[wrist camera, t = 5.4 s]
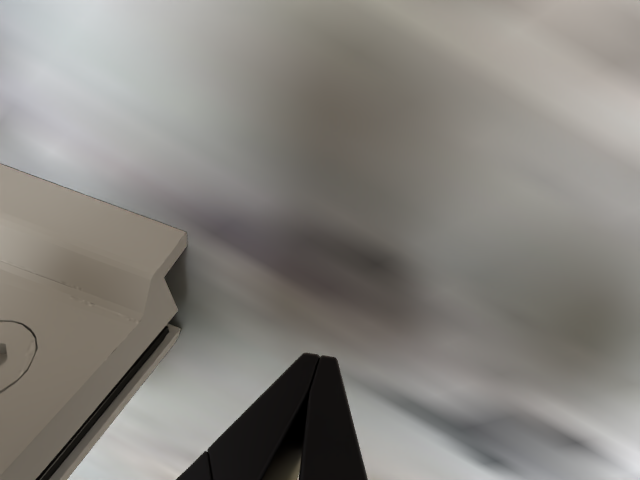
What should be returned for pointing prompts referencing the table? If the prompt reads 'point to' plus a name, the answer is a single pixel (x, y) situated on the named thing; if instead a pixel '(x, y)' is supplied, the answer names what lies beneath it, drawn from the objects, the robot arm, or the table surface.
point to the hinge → (74, 320)
